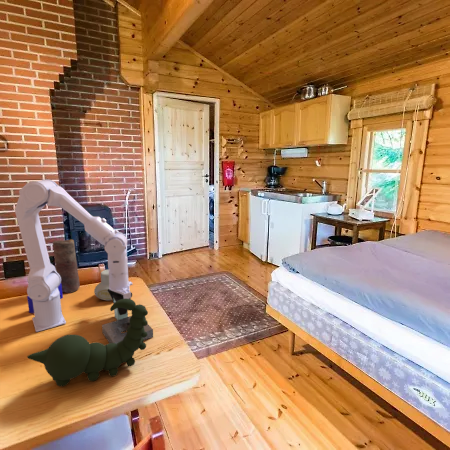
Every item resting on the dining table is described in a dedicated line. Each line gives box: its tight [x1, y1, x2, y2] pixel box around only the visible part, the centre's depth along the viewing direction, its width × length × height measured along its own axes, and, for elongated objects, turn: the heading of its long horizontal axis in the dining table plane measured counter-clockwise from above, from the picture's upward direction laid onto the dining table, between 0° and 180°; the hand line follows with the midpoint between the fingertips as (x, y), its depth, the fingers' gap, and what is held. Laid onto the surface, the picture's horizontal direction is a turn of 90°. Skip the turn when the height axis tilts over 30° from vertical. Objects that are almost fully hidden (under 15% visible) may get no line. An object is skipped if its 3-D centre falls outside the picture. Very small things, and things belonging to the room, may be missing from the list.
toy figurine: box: [26, 298, 149, 387], centre depth 69 cm, size 9×19×25 cm
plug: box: [113, 298, 129, 321], centre depth 96 cm, size 3×3×7 cm
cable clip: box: [26, 283, 64, 314], centre depth 104 cm, size 12×4×6 cm, turn 169°
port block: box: [101, 315, 154, 344], centre depth 87 cm, size 11×11×2 cm
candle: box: [52, 238, 81, 294], centre depth 114 cm, size 8×7×20 cm
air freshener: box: [93, 269, 113, 302], centre depth 110 cm, size 11×8×10 cm
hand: (121, 311), depth 96 cm, fingers closed on plug, 3 cm apart
